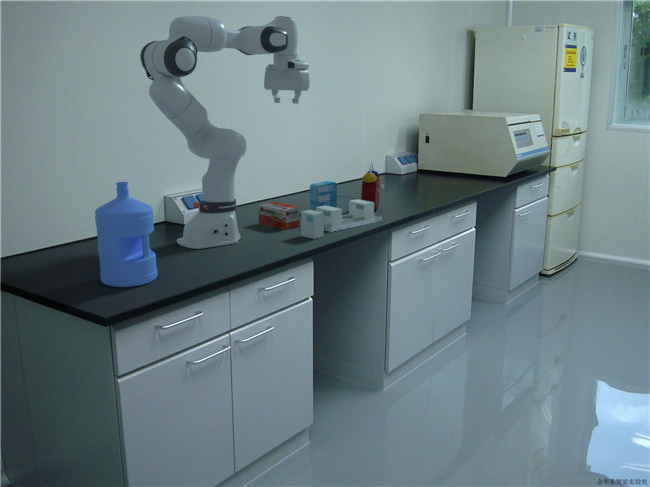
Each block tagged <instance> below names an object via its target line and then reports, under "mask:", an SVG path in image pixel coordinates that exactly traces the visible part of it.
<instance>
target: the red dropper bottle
mask: <svg viewBox="0 0 650 487" xmlns="http://www.w3.org/2000/svg"><path fill="white" fill-rule="evenodd" d="M380 176H381V175H380V174H379V172H378V171H377V170H374V164H372V163H370V165H369V170H368V171H367V172H366V173H365V174H364V175H363V177H361V180H362V184H361V196H360V197H361V199H360V200H364V201H369V202H374V211H378V209H379V205H380V195H381V193H382V192H383V190H382V189H384V188H385V183H382V184H381V183H380Z"/></svg>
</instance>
